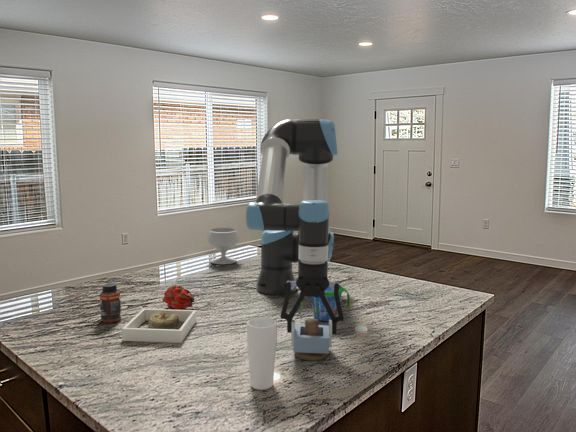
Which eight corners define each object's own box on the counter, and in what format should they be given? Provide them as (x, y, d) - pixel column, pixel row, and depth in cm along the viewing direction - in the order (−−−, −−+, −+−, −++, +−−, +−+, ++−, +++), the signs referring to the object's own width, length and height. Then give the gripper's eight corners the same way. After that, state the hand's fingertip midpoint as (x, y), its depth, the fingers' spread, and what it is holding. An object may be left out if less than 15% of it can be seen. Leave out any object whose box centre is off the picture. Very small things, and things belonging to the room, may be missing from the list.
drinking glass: (246, 378, 114) (246, 317, 112) (275, 377, 115) (276, 316, 113) (246, 393, 108) (246, 328, 106) (277, 392, 108) (278, 327, 106)
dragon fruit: (165, 309, 166) (193, 320, 161) (151, 301, 159) (180, 312, 153) (177, 286, 169) (204, 297, 163) (164, 277, 162) (192, 288, 156)
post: (295, 345, 133) (295, 314, 132) (328, 347, 133) (328, 315, 131) (293, 360, 124) (293, 326, 123) (328, 361, 124) (329, 327, 122)
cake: (176, 336, 141) (175, 319, 140) (142, 336, 141) (140, 319, 140) (184, 321, 150) (183, 305, 149) (152, 321, 151) (150, 305, 149)
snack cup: (300, 323, 150) (301, 291, 148) (300, 311, 160) (300, 281, 159) (351, 324, 150) (352, 292, 148) (348, 312, 160) (348, 282, 159)
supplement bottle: (125, 318, 153) (124, 282, 151) (113, 324, 147) (111, 288, 146) (109, 315, 155) (108, 281, 153) (96, 322, 149) (94, 286, 148)
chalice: (203, 264, 220) (203, 232, 218) (213, 257, 234) (213, 226, 232) (234, 266, 218) (233, 233, 216) (242, 259, 232) (241, 228, 229)
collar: (295, 338, 133) (295, 324, 132) (328, 339, 132) (328, 325, 132) (293, 352, 124) (293, 337, 123) (329, 353, 123) (329, 338, 123)
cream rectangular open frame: (143, 319, 152) (143, 308, 151) (196, 321, 151) (196, 310, 150) (122, 340, 135) (121, 328, 135) (181, 342, 134) (181, 330, 134)
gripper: (269, 263, 122) (268, 349, 125) (357, 265, 120) (354, 352, 124) (272, 256, 129) (271, 337, 132) (354, 258, 128) (352, 340, 131)
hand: (311, 344), depth 128 cm, fingers closed on collar, 9 cm apart
